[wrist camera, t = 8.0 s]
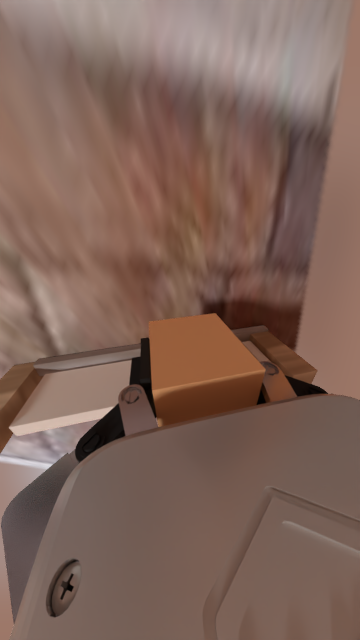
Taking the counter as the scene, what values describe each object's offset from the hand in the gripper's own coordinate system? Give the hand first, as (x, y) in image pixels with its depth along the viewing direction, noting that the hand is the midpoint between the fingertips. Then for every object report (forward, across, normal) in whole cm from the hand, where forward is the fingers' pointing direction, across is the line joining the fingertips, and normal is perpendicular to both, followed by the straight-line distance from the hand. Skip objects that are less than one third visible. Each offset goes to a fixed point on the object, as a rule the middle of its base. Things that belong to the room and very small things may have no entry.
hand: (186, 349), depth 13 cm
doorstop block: (+1, 0, 0) cm, 1 cm away
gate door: (+5, +2, +6) cm, 8 cm away
